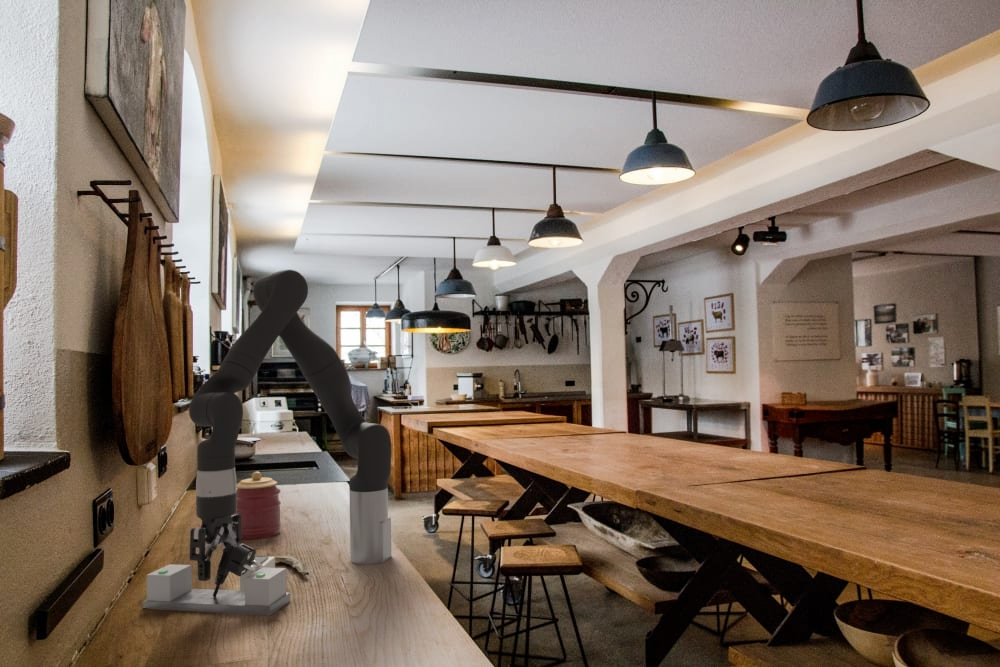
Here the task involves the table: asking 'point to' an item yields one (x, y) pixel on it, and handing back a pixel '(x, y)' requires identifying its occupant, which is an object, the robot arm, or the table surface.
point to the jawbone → (291, 562)
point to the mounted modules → (177, 581)
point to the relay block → (257, 568)
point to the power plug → (235, 563)
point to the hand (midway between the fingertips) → (217, 573)
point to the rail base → (216, 603)
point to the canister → (258, 507)
